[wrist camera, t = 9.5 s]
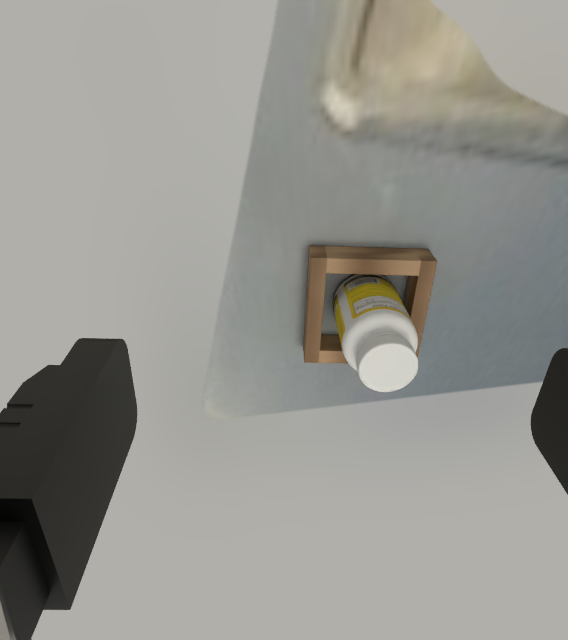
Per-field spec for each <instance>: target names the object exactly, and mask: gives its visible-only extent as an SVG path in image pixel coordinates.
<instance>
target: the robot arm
mask: <svg viewBox="0 0 568 640" xmlns="http://www.w3.org/2000/svg"><path fill="white" fill-rule="evenodd" d="M136 423H137V404H136V397H135V391H134V386H133V379H132V373H131V367H130V361H129V355H128V349H127V345H126V343H125V341H124V340H123V339H95V338H81V339H79V340H77V342H76V343H75V344H74V346H73V347H72V349H71V350H70V352H69V353H68V355H67V356H66V358H65V359H64V361H63V362H62V363H61V365H48V366H46V367H45V368H43V369H42V370H41V371H39V372H38V373H36V374H35V375H34V376H32V377H31V378H29V379H28V380H26V381H25V382H23V384H22V385H21V386H20V388H19V389H18V390H17V392H16V393H15V394H14V396H13V397H12V398H11V400H10V401H9V402H8V403H7V408H4V409H3V410H2V411H1V413H0V640H31V637H32V635H33V632H34V630H35V628H36V625H37V623H38V620H39V618H40V616H41V613H42V611H43V610H70V609H71V606H72V603H73V601H74V598H75V595H76V593H77V590H78V587H79V584H80V582H81V579H82V576H83V573H84V570H85V568H86V565H87V563H88V560H89V557H90V555H91V552H92V549H93V546H94V544H95V541H96V538H97V536H98V533H99V530H100V528H101V525H102V522H103V519H104V517H105V514H106V511H107V509H108V506H109V503H110V500H111V498H112V495H113V492H114V489H115V487H116V484H117V481H118V479H119V476H120V473H121V471H122V468H123V465H124V462H125V460H126V457H127V454H128V452H129V449H130V446H131V444H132V441H133V438H134V434H135V429H136ZM531 430H532V435H533V439H534V441H535V444H536V445H537V447H538V449H539V450H540V452H541V453H542V455H543V456H544V458H545V460H546V461H547V463H548V464H549V466H550V467H551V469H552V471H553V472H554V474H555V475H556V477H557V478H558V480H559V482H560V483H561V485H562V486H563V488H564V489H565V491H566V493H567V494H568V348H562V349H560V350H558V351H557V352H556V353H555V354H554V356H553V358H552V360H551V362H550V365H549V368H548V370H547V373H546V376H545V379H544V381H543V384H542V387H541V389H540V392H539V395H538V398H537V401H536V403H535V406H534V408H533V411H532V415H531Z"/></svg>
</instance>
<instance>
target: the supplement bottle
mask: <svg viewBox="0 0 568 640" xmlns="http://www.w3.org/2000/svg"><path fill="white" fill-rule="evenodd" d="M333 309H334V315H335V319H336V324H337V328H338V333H339V337H340V342H341V347H342V351H343V354H344V357H345V359H346V360H347V362H348V363H349V365H350V366H351V367H352V368H353V369H355V370H356V371H358V374H359V377H360V379H361V381H362V382H363V383H364V384H365V385H366V386H367V387H369V388H370V389H372V390H375V391H379V392H391V391H395V390H398V389H401V388H403V387H404V386H406V385H407V384H409V383H410V382H411V381H412V380H413V378H414V377H415V375H416V373H417V370H418V359H417V356H416V354H415V353H416V350H417V346H418V337H417V332H416V330H415V327H414V325H413V323H412V321H411V319H410V317H409V315H408V313H407V311H406V309H405V307H404V305H403V303H402V301H401V299H400V297H399V295H398V293H397V291H396V289H395V287H394V286H393V284H392V283H391V282H390V281H389V280H388V279H386V278H385V277H383V276H381V275H374V274H357V275H354V276H352V277H350V278H348V279H347V280H345V281H344V282H343V283H342V284H341V285H340V286H339V288H338V289H337V291H336V293H335V295H334V299H333Z"/></svg>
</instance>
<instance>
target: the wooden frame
mask: <svg viewBox="0 0 568 640" xmlns="http://www.w3.org/2000/svg"><path fill="white" fill-rule="evenodd" d="M436 265H437V260H436V259H435V257H434V256H433V255H432V253H431V252H430V250H429V249H412V248H378V247H343V246H309V260H308V277H307V293H306V309H305V325H304V341H303V350H304V362H311V363H348V362H347V360H346V359H345V357H344V354H343V351H342V347H341V342H340V337H339V335H321V328H322V316H323V304H324V292H325V280H326V273H338V274H374V275H409V276H408V281H407V287H406V293H405V298H404V304H403V305H404V307H405V309H406V311H407V313H408V315H409V317H410V319H411V321H412V323H413V325H414V327H415V330H416V332H417V337H418V346H417V350H416V353H415V354H416V356H417V357H418V353H419V348H420V343H421V338H422V333H423V328H424V323H425V319H426V314H427V309H428V304H429V299H430V294H431V290H432V285H433V280H434V275H435V270H436Z"/></svg>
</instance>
